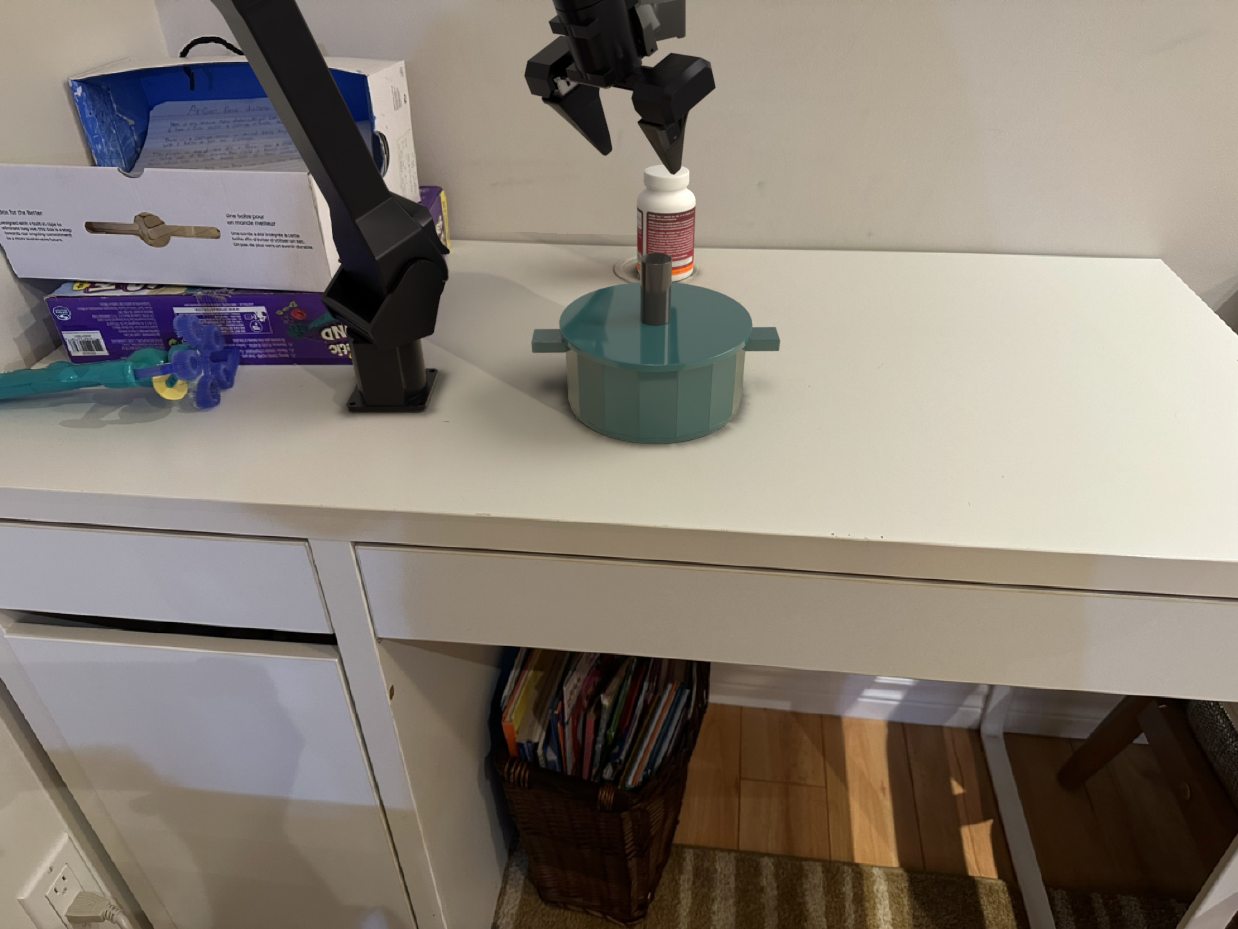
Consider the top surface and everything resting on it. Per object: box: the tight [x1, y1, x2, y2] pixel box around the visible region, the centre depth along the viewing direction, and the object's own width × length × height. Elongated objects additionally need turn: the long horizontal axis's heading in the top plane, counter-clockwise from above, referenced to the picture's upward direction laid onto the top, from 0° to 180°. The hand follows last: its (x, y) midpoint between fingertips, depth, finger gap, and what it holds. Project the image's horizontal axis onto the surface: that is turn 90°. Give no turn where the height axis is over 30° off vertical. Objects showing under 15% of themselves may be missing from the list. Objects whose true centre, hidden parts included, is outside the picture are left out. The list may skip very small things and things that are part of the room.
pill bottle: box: [636, 164, 697, 282], centre depth 89 cm, size 6×6×11 cm
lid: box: [558, 253, 754, 372], centre depth 65 cm, size 15×15×6 cm
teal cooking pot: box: [530, 326, 781, 445], centre depth 69 cm, size 14×20×6 cm
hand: (640, 162), depth 79 cm, fingers open, 9 cm apart
